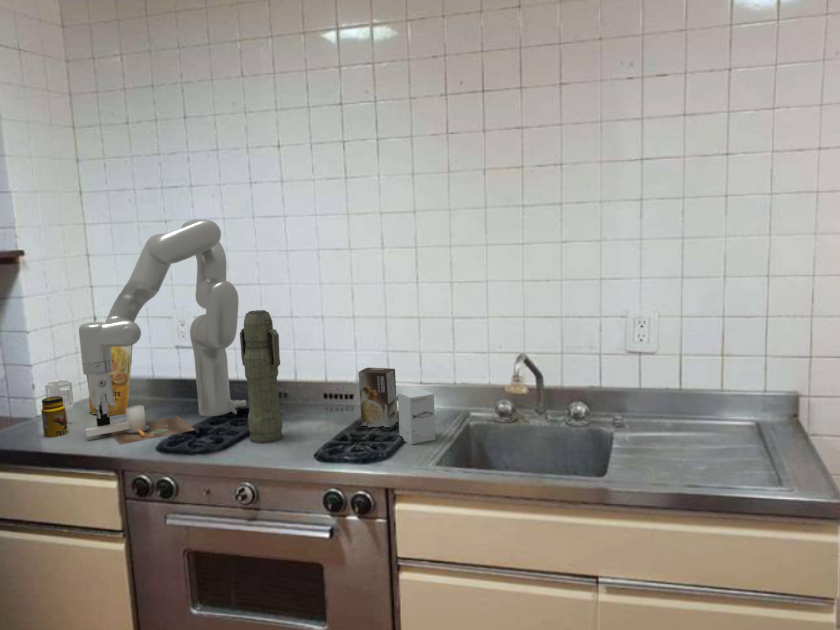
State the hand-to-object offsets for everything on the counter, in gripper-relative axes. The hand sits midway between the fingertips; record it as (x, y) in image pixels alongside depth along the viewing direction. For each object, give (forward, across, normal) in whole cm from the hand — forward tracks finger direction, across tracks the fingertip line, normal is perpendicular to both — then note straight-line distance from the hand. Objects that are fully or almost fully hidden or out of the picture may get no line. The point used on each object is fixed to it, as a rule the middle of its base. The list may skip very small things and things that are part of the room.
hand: (104, 431), depth 199 cm
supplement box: (+3, -57, -68) cm, 89 cm away
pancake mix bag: (+3, +29, -7) cm, 30 cm away
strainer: (+3, +22, +8) cm, 24 cm away
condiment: (+3, +10, +12) cm, 16 cm away
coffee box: (+3, -39, -66) cm, 77 cm away
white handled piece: (+1, -6, -3) cm, 6 cm away
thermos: (+3, -30, -36) cm, 47 cm away
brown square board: (+2, -4, -12) cm, 13 cm away
